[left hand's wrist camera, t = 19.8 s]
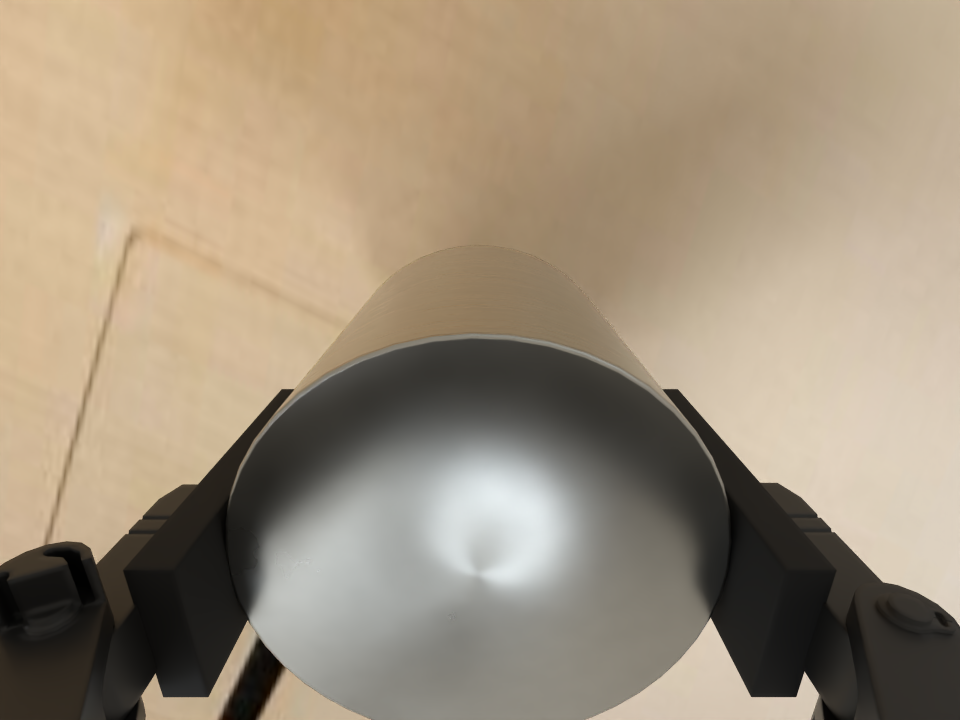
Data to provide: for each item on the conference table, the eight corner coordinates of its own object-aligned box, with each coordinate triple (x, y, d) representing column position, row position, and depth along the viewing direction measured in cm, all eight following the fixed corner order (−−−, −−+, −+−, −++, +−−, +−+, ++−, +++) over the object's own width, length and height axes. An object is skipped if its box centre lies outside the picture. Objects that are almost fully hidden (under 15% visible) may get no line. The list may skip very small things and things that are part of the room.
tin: (555, 196, 15) (645, 234, 7) (644, 437, 18) (782, 666, 10) (297, 313, 17) (113, 462, 8) (419, 520, 20) (374, 783, 11)
